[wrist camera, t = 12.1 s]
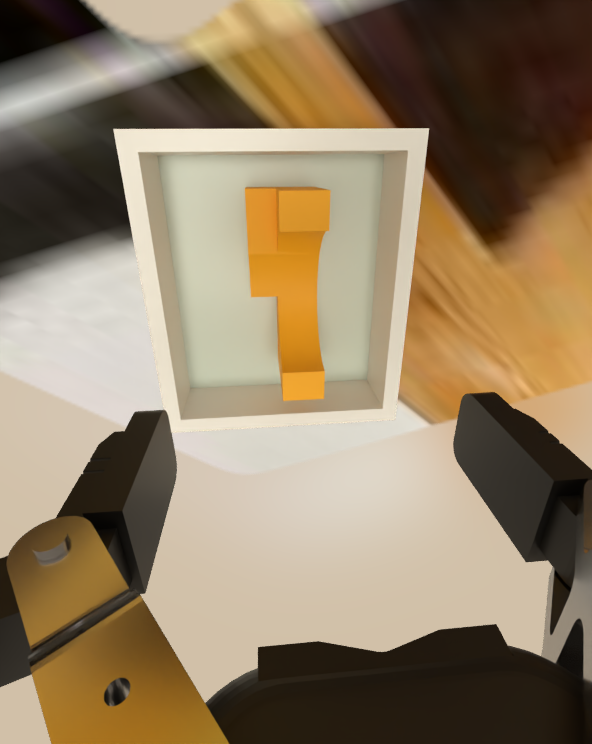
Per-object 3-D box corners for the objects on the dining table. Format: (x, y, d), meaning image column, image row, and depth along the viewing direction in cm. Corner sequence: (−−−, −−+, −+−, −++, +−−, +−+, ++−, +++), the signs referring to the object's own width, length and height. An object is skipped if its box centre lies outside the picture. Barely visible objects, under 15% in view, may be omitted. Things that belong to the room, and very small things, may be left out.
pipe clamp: (246, 186, 26) (243, 190, 20) (313, 186, 26) (330, 190, 20) (255, 359, 31) (254, 402, 25) (311, 357, 31) (324, 398, 26)
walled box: (396, 136, 26) (429, 128, 21) (375, 384, 34) (395, 419, 29) (141, 137, 25) (113, 128, 20) (181, 394, 33) (167, 433, 28)
